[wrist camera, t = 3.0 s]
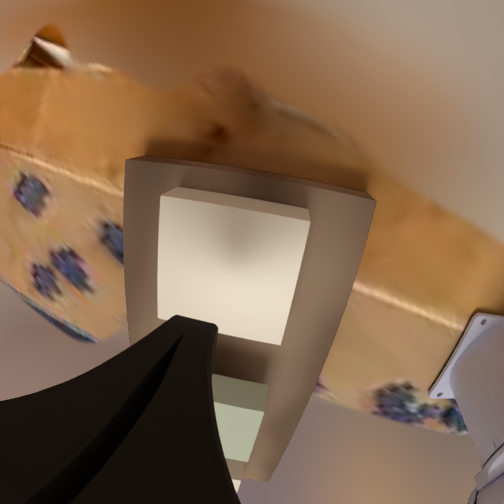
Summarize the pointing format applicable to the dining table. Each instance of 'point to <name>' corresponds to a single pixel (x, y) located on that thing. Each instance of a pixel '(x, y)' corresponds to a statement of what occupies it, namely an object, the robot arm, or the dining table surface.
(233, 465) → the key
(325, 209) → the board
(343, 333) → the dining table surface
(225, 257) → the key
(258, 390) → the key middle
